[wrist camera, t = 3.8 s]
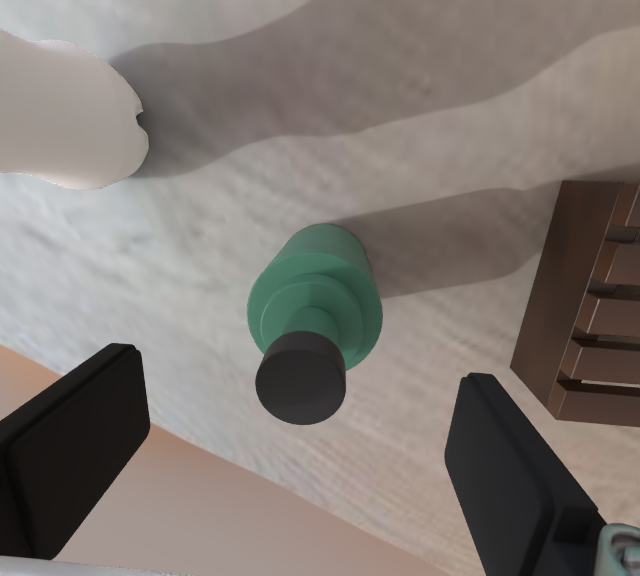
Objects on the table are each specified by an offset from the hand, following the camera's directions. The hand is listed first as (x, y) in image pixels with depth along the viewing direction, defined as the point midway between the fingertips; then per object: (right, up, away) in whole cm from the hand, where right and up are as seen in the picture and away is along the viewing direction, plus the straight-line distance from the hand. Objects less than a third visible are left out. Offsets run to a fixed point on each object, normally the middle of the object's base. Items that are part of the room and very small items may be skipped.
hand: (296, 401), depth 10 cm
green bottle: (+1, +5, +13) cm, 14 cm away
